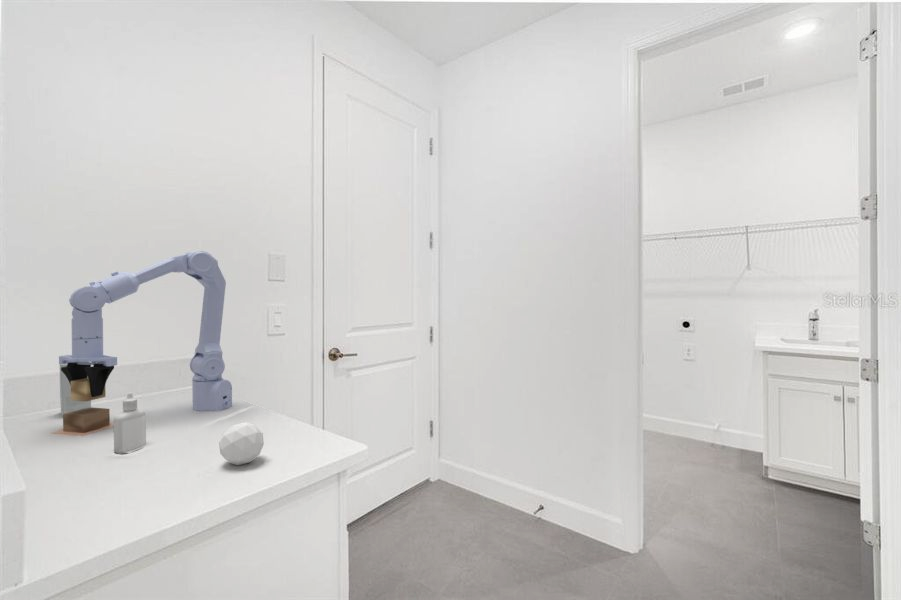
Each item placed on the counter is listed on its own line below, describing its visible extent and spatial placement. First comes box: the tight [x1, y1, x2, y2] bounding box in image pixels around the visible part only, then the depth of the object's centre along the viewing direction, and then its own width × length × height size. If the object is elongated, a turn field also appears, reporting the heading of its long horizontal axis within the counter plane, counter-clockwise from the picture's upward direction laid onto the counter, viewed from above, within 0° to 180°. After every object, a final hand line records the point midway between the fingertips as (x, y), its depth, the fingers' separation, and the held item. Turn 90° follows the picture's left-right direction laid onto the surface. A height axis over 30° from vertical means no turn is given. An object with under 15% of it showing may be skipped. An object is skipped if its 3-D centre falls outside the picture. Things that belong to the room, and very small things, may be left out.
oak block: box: [71, 378, 106, 402], centre depth 104 cm, size 4×4×4 cm
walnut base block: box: [62, 406, 111, 433], centre depth 104 cm, size 6×6×4 cm
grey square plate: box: [51, 422, 114, 437], centre depth 107 cm, size 16×16×1 cm
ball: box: [218, 421, 265, 466], centre depth 85 cm, size 8×8×8 cm
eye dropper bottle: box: [113, 392, 147, 456], centre depth 92 cm, size 4×6×12 cm
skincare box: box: [59, 364, 92, 417], centre depth 117 cm, size 8×6×15 cm
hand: (88, 395), depth 104 cm, fingers closed on oak block, 4 cm apart
